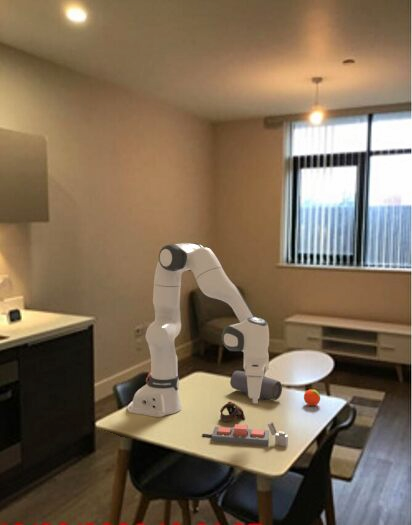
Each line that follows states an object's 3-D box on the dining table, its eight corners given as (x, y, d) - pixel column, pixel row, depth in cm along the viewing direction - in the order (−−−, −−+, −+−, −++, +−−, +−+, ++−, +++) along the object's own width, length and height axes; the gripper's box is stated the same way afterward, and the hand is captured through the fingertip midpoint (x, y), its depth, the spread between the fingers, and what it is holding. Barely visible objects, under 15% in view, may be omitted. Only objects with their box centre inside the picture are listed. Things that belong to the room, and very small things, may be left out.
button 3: (250, 441, 173) (251, 433, 172) (251, 437, 176) (251, 429, 176) (263, 442, 172) (263, 434, 172) (263, 438, 176) (264, 430, 175)
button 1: (217, 439, 175) (217, 431, 174) (218, 434, 178) (218, 427, 178) (229, 440, 174) (229, 432, 174) (230, 435, 177) (230, 427, 177)
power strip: (200, 443, 173) (200, 434, 173) (204, 433, 181) (204, 425, 181) (268, 448, 170) (268, 439, 169) (269, 438, 177) (269, 429, 177)
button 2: (234, 436, 174) (234, 428, 173) (235, 432, 177) (235, 424, 177) (246, 437, 173) (246, 429, 173) (247, 433, 176) (247, 425, 176)
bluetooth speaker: (229, 393, 224) (229, 372, 223) (241, 388, 231) (241, 367, 230) (271, 405, 209) (271, 383, 208) (282, 399, 216) (282, 377, 215)
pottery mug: (249, 425, 190) (242, 410, 187) (228, 436, 189) (220, 421, 186) (241, 406, 201) (234, 392, 198) (220, 417, 200) (213, 402, 197)
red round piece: (325, 406, 208) (325, 390, 207) (314, 410, 204) (315, 394, 203) (310, 401, 214) (311, 385, 214) (300, 404, 210) (300, 388, 210)
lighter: (287, 447, 171) (288, 425, 170) (286, 449, 169) (286, 426, 169) (268, 442, 174) (269, 421, 173) (267, 444, 173) (267, 422, 172)
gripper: (249, 355, 183) (248, 391, 184) (244, 372, 163) (244, 412, 164) (266, 356, 182) (265, 392, 183) (263, 373, 162) (263, 413, 163)
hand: (255, 401), depth 173 cm, fingers closed
